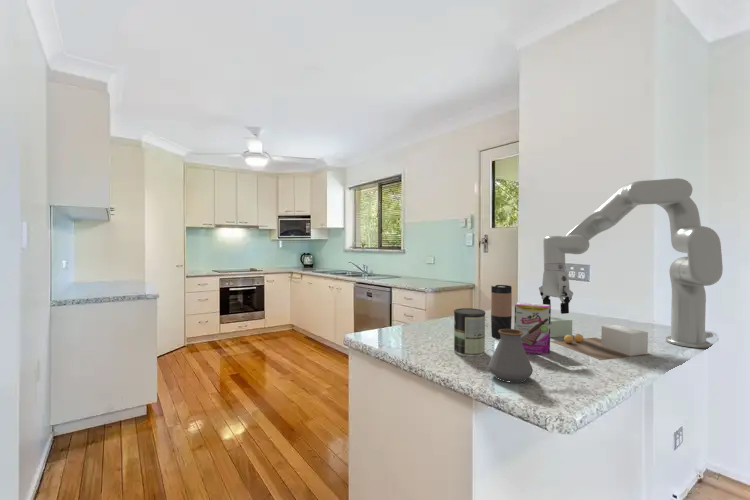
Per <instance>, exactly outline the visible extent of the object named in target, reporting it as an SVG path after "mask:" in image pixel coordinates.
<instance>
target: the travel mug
mask: <svg viewBox="0 0 750 500" xmlns="http://www.w3.org/2000/svg"><path fill="white" fill-rule="evenodd" d="M490 288H491V289H490V290H491V293H490V295H491V296H490V300H491V301H490V303H491V304H490V322H491V323H490V324H491V325H490V327H491V328H490V329H491V331H490V332H491V337H492V338H494V339H498V340H500V339H501V337H500V333H499V332H498V330H500V329H512V317H513V316H512V311H513V310H512V306H513V305H512V299H513V297H512V294H513V293H512V291H513V290H512V286H511V285H507V284H496V285H495V286H493V285H491V287H490Z"/></svg>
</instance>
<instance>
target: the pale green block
mask: <svg viewBox="0 0 750 500" xmlns="http://www.w3.org/2000/svg"><path fill="white" fill-rule="evenodd" d="M551 322H552V324H551V323H550V324H551V325H550V338H557V337H559V338H560V337H565V336H566V335H571V336H572V337H573V319H571V318H566V317H564V316H558V315H557V316H551Z"/></svg>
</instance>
